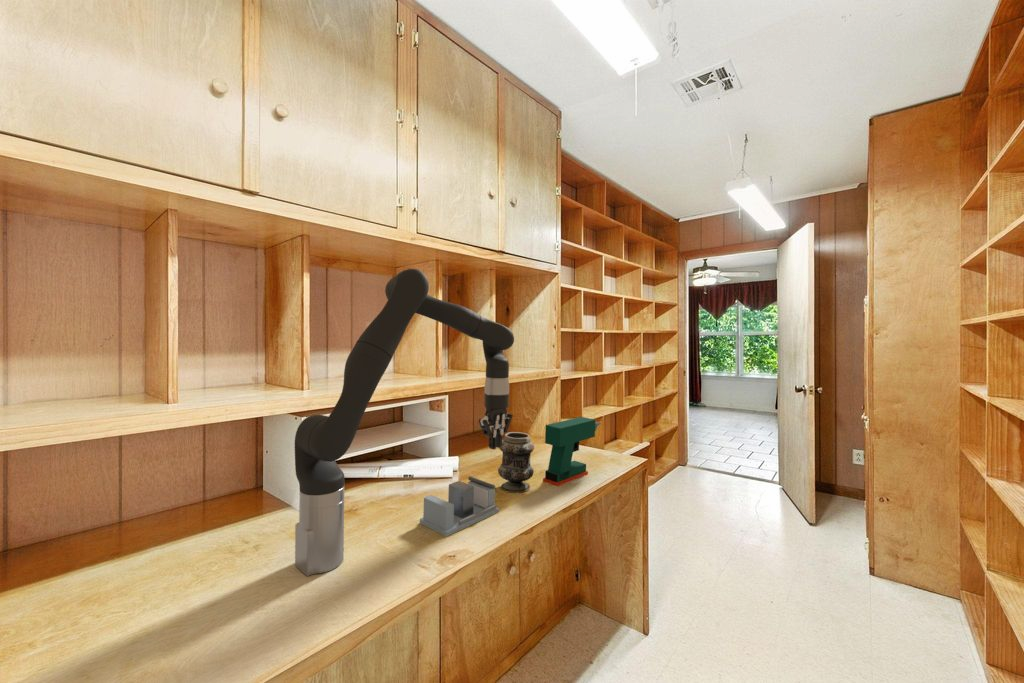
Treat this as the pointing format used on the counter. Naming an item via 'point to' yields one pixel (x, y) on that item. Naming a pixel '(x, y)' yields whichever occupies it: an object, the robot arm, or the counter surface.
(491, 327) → the robot arm
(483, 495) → the free jaw
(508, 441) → the apothecary jar
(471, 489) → the block
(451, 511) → the vise base
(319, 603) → the counter surface
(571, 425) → the power tool
